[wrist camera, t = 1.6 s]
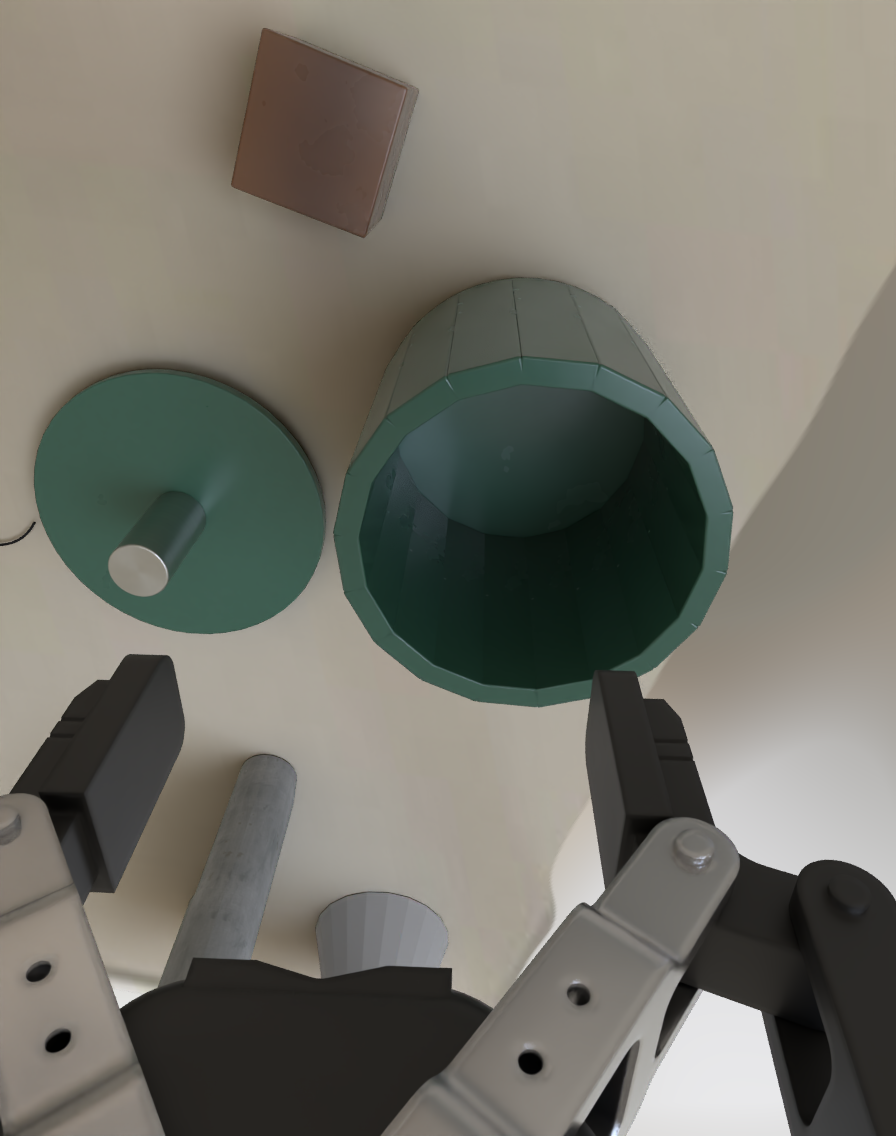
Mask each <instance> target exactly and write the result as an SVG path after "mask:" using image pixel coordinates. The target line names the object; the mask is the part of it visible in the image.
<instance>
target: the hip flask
mask: <svg viewBox="0 0 896 1136" xmlns="http://www.w3.org/2000/svg"><path fill="white" fill-rule="evenodd" d="M296 781H297V776H296V773H295V771H294V769H293V768H292V766H291V765H290V764H289V763H287V762H286V761H284V760H283V759H281V758H278V757H276V756H271V755H258V756H254V757H252V758H250V759H248V760H247V761H246V762H245V763H244V764H243V766H242V768H241V770H240V773H239V776H238V779H237V781H236V784H235V787H234V789H233V792H232V795H231V798H230V800H229V803H228V806H227V808H226V811H225V814H224V817H223V819H222V822H221V825H220V827H219V830H218V833H217V836H216V838H215V841H214V844H213V846H212V849H211V852H210V855H209V857H208V860H207V863H206V865H205V868H204V871H203V874H202V876H201V879H200V882H199V884H198V887H197V890H196V893H195V895H194V896H193V897H192V898H191V900H190V902H189V905H188V907H187V910H186V913H185V915H184V918H183V921H182V924H181V926H180V929H179V932H178V934H177V937H176V940H175V942H174V945H173V948H172V950H171V953H170V956H169V958H168V961H167V964H166V967H165V969H164V972H163V975H162V977H161V980H160V983H159V985H158V987H161V986H163V985H166V984H170V983H173V982H176V981H180V980H184V979H186V976H187V973H188V970H189V967H190V964H191V961H192V958H193V957H195V958H219V959H243V960H251V956H252V953H253V949H254V946H255V942H256V938H257V935H258V931H259V927H260V924H261V920H262V917H263V913H264V909H265V906H266V902H267V898H268V895H269V891H270V888H271V884H272V880H273V877H274V873H275V869H276V866H277V862H278V859H279V855H280V851H281V848H282V844H283V840H284V837H285V833H286V830H287V826H288V822H289V819H290V815H291V811H292V806H293V801H294V796H295V789H296Z"/></svg>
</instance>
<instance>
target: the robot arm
mask: <svg viewBox="0 0 896 1136" xmlns="http://www.w3.org/2000/svg"><path fill="white" fill-rule="evenodd" d="M184 731H185V721H184V714H183V709H182V704H181V699H180V694H179V689H178V684H177V679H176V674H175V669H174V665H173V661H172V659H171V658H170V657H169V656H167V655H138V654H129V655H127V656H125V657H124V659H123V660H122V662H121V663H120V665H119V666H118V668H117V670H116V671H115V673H114V674H113V676H112V677H111V679H110V680H97V681H96V682H94V683H93V684H92V685H90V686H89V687H88V688H86V689H85V690H84V691H82V692H81V693H80V694H78V695H77V696H76V697H75V698H74V699H73V701H72V702H71V704H70V705H69V707H68V708H67V710H66V711H65V712H64V714H63V715H62V717H61V721H58V723H57V724H56V726H55V727H54V729H53V730H52V732H51V733H50V738H49V737H47V739H46V740H45V742H44V743H43V745H42V746H41V748H40V749H39V751H38V752H37V754H36V755H35V756H34V758H33V759H32V761H31V762H30V764H29V765H28V767H27V768H26V770H25V771H24V773H23V774H22V776H21V777H20V778H19V780H18V781H17V783H16V784H15V786H14V787H13V789H12V790H11V792H10V793H9V794H7V795H3V796H0V1136H626V1135H627V1133H628V1131H629V1129H630V1127H631V1125H632V1123H633V1121H634V1119H635V1117H636V1115H637V1113H638V1111H639V1109H640V1106H641V1104H642V1102H643V1100H644V1097H645V1095H646V1092H647V1090H648V1087H649V1085H650V1082H651V1081H652V1078H653V1076H654V1075H655V1073H656V1071H657V1069H658V1067H659V1066H660V1064H661V1062H662V1060H663V1059H664V1057H665V1055H666V1053H667V1052H668V1050H669V1048H670V1047H671V1045H672V1043H673V1041H674V1040H675V1038H676V1036H677V1034H678V1032H679V1031H680V1029H681V1027H682V1026H683V1024H684V1022H685V1021H686V1019H687V1017H688V1015H689V1014H690V1012H691V1010H692V1008H693V1007H694V1005H695V1003H696V1002H697V1000H698V998H699V996H700V994H701V993H702V991H703V990H704V991H707V992H710V993H713V994H716V995H719V996H721V997H724V998H727V999H730V1000H732V1001H735V1002H738V1003H741V1004H744V1005H746V1006H750V1007H752V1008H755V1009H758V1010H760V1011H761V1012H762V1016H763V1020H764V1024H765V1029H766V1033H767V1036H768V1041H769V1045H770V1049H771V1054H772V1058H773V1062H774V1066H775V1070H776V1074H777V1078H778V1083H779V1087H780V1091H781V1095H782V1099H783V1103H784V1108H785V1112H786V1116H787V1120H788V1124H789V1128H790V1133H791V1136H896V901H895V899H894V897H893V895H892V894H891V893H890V891H889V890H888V889H887V888H886V887H885V886H884V885H883V884H882V883H881V882H880V881H879V880H878V879H876V878H875V877H874V876H873V875H871V874H870V873H868V872H867V871H865V870H863V869H861V868H859V867H857V866H854V865H852V864H849V863H846V862H842V861H836V860H820V861H816V862H813V863H810V864H808V865H807V866H805V867H804V868H803V869H802V870H801V872H800V874H799V875H798V876H797V875H793V874H790V873H787V872H783V871H780V870H776V869H773V868H770V867H766V866H764V865H761V864H758V863H755V862H753V861H751V860H749V859H747V858H746V857H744V856H742V855H741V854H739V853H738V851H737V849H736V847H735V845H734V844H733V842H732V841H731V840H730V839H729V838H728V837H727V836H726V834H724V833H723V832H722V831H721V830H719V829H718V828H716V827H715V824H714V821H713V818H712V815H711V812H710V809H709V806H708V803H707V799H706V796H705V793H704V790H703V787H702V784H701V781H700V777H699V774H698V771H697V768H696V765H695V761H693V755H692V752H691V749H690V746H689V744H688V742H687V736H686V733H685V730H684V727H683V724H682V721H681V718H680V717H679V716H678V715H677V714H676V712H675V711H674V710H673V709H672V708H671V707H670V706H669V705H668V704H667V703H666V701H665V700H664V699H643V697H642V693H641V689H640V685H639V682H638V678H637V674H636V672H635V671H614V670H595V672H594V675H593V681H592V689H591V697H590V705H589V713H588V721H587V729H586V741H585V753H586V766H587V773H588V780H589V786H590V793H591V799H592V805H593V813H594V819H595V825H596V832H597V839H598V845H599V852H600V858H601V865H602V871H603V878H604V884H605V891H604V892H603V894H602V895H601V896H600V897H599V899H598V900H597V901H596V902H595V903H594V904H593V905H592V906H589V905H588V904H586V903H581V904H579V905H578V906H576V908H574V909H573V910H572V911H571V913H570V914H569V915H568V916H567V918H566V919H565V920H564V921H563V922H562V924H561V925H560V926H559V928H558V929H557V930H556V931H555V933H554V934H553V935H552V936H551V938H550V939H549V940H548V941H547V943H546V944H545V945H544V946H543V948H542V949H541V950H540V952H539V953H538V954H537V955H536V956H535V958H534V959H533V960H532V961H531V963H530V964H529V965H528V966H527V968H526V969H525V970H524V971H523V973H522V974H521V975H520V976H519V978H518V979H517V980H516V981H515V983H514V984H513V985H512V986H511V988H510V989H509V990H508V991H507V993H506V994H505V995H504V997H503V998H502V999H501V1000H500V1002H499V1003H498V1004H497V1005H496V1007H495V1008H494V1009H493V1008H491V1007H489V1006H488V1005H486V1004H485V1003H483V1002H481V1001H480V1000H478V999H475V998H473V997H471V996H469V995H467V994H464V993H462V992H459V991H456V990H453V989H452V968H433V967H409V966H383V967H378V968H373V969H369V970H364V971H359V972H354V973H349V974H344V975H339V976H334V977H329V978H323V979H317V978H312V977H309V976H306V975H302V974H299V973H296V972H293V971H290V970H286V969H283V968H280V967H277V966H274V965H270V964H267V963H264V962H261V961H257V960H243V959H219V958H195V957H193V958H192V961H191V964H190V967H189V970H188V973H187V976H186V979H184V980H180V981H176V982H173V983H170V984H166V985H163V986H161V987H158V988H156V989H154V990H151V991H149V992H147V993H145V994H143V995H141V996H140V997H138V998H136V999H134V1000H132V1001H131V1002H129V1003H128V1004H126V1005H125V1006H123V1007H122V1008H120V1009H119V1006H118V1003H117V1001H116V997H115V995H114V992H113V989H112V986H111V984H110V981H109V978H108V975H107V972H106V970H105V967H104V964H103V961H102V958H101V956H100V953H99V950H98V947H97V944H96V942H95V939H94V936H93V933H92V930H91V928H90V925H89V922H88V919H87V916H86V914H85V911H84V908H83V904H84V902H85V900H86V898H87V896H88V894H89V892H104V893H114V892H115V890H116V888H117V886H118V884H119V881H120V879H121V877H122V875H123V873H124V871H125V869H126V866H127V864H128V862H129V860H130V858H131V856H132V853H133V851H134V849H135V847H136V845H137V843H138V841H139V838H140V836H141V834H142V832H143V830H144V828H145V826H146V823H147V821H148V819H149V817H150V815H151V813H152V810H153V808H154V806H155V804H156V802H157V800H158V798H159V795H160V793H161V791H162V789H163V787H164V785H165V782H166V780H167V778H168V776H169V774H170V772H171V770H172V767H173V765H174V763H175V761H176V759H177V757H178V755H179V752H180V750H181V747H182V744H183V739H184Z"/></svg>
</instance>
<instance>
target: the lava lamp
mask: <svg viewBox="0 0 896 1136" xmlns="http://www.w3.org/2000/svg"><path fill="white" fill-rule="evenodd" d="M316 936H317V945H318V953H319V962H320V970H321V979H323V978H329V977H334V976H339V975H344V974H349V973H354V972H359V971H364V970H369V969H373V968H378V967H383V966H409V967H433V968H439V967H440V964H441V961H442V959H443V956H444V954H445V951H446V949H447V946H448V931H447V929H446V927H445V926H444V924H443V922H442V920H441V918H440V917H439V916H437V915H436V914H435V913H434V912H433V911H432V910H431V909H430V908H428V907H427V906H425V905H423V904H421V903H419V902H417V901H415V900H413V899H411V898H408V897H404V896H400V895H395V894H391V893H374V892H366V893H361V894H356V895H351V896H346V897H344V898H342V899H340V900H338V901H336V902H334V903H332V904H330V905H329V906H328V907H327V908H326V909H325V910H324V911H323V912H322V913H321V915H320V916H319V919H318V922H317V925H316Z"/></svg>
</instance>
